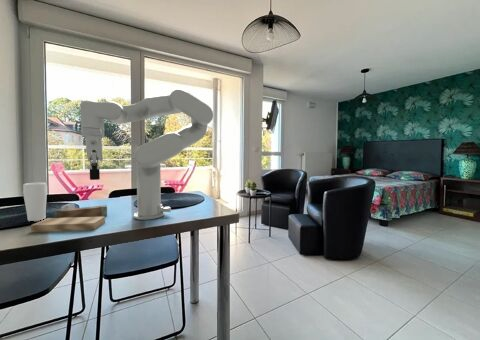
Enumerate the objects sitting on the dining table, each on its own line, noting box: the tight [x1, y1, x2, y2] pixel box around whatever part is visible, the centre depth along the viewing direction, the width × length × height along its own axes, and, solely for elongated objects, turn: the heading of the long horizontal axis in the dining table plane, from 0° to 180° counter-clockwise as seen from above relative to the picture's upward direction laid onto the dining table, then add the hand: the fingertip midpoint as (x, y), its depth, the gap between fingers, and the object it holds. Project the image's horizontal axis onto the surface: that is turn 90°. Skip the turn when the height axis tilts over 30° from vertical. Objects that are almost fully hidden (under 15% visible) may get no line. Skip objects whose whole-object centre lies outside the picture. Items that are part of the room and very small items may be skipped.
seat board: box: [30, 216, 106, 233], centre depth 79 cm, size 20×9×2 cm, turn 100°
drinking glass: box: [22, 181, 48, 222], centre depth 85 cm, size 7×7×15 cm
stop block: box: [61, 202, 76, 210], centre depth 95 cm, size 2×5×4 cm, turn 10°
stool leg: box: [53, 204, 108, 218], centre depth 88 cm, size 18×3×4 cm, turn 125°
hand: (94, 178), depth 85 cm, fingers open, 4 cm apart
